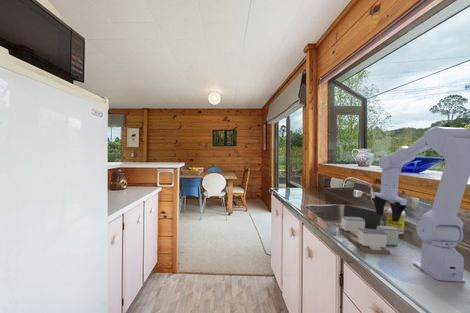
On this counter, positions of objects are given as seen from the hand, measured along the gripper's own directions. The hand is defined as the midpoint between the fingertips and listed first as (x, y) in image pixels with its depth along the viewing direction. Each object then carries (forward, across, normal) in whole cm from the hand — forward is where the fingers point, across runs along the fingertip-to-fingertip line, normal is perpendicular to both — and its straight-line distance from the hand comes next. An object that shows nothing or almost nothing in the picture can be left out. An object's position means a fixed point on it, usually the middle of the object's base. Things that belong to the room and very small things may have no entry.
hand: (387, 218), depth 91 cm
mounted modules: (+8, +1, +10) cm, 13 cm away
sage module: (+10, -1, +1) cm, 10 cm away
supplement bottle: (+10, +9, -13) cm, 19 cm away
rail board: (+9, +1, +10) cm, 14 cm away
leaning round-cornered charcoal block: (+10, +16, -1) cm, 19 cm away
